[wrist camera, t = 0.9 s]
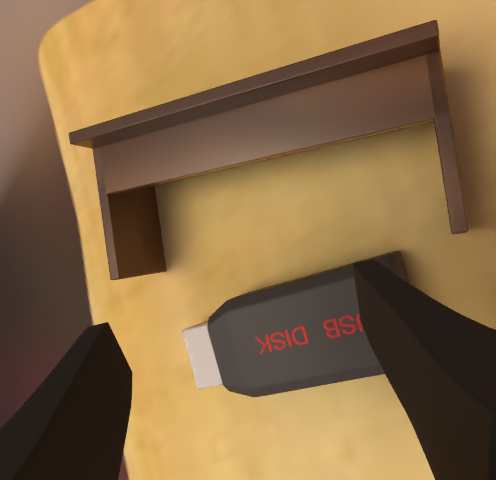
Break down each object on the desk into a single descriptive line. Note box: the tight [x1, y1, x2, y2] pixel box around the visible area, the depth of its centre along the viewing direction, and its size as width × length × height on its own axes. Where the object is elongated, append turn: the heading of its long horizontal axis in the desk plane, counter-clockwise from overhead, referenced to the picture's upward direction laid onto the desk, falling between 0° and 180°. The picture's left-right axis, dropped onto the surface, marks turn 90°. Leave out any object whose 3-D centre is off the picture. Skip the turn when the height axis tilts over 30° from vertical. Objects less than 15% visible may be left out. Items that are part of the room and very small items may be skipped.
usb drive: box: [182, 251, 409, 397], centre depth 24 cm, size 5×12×3 cm, turn 108°
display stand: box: [69, 20, 469, 280], centre depth 23 cm, size 8×17×6 cm, turn 99°
